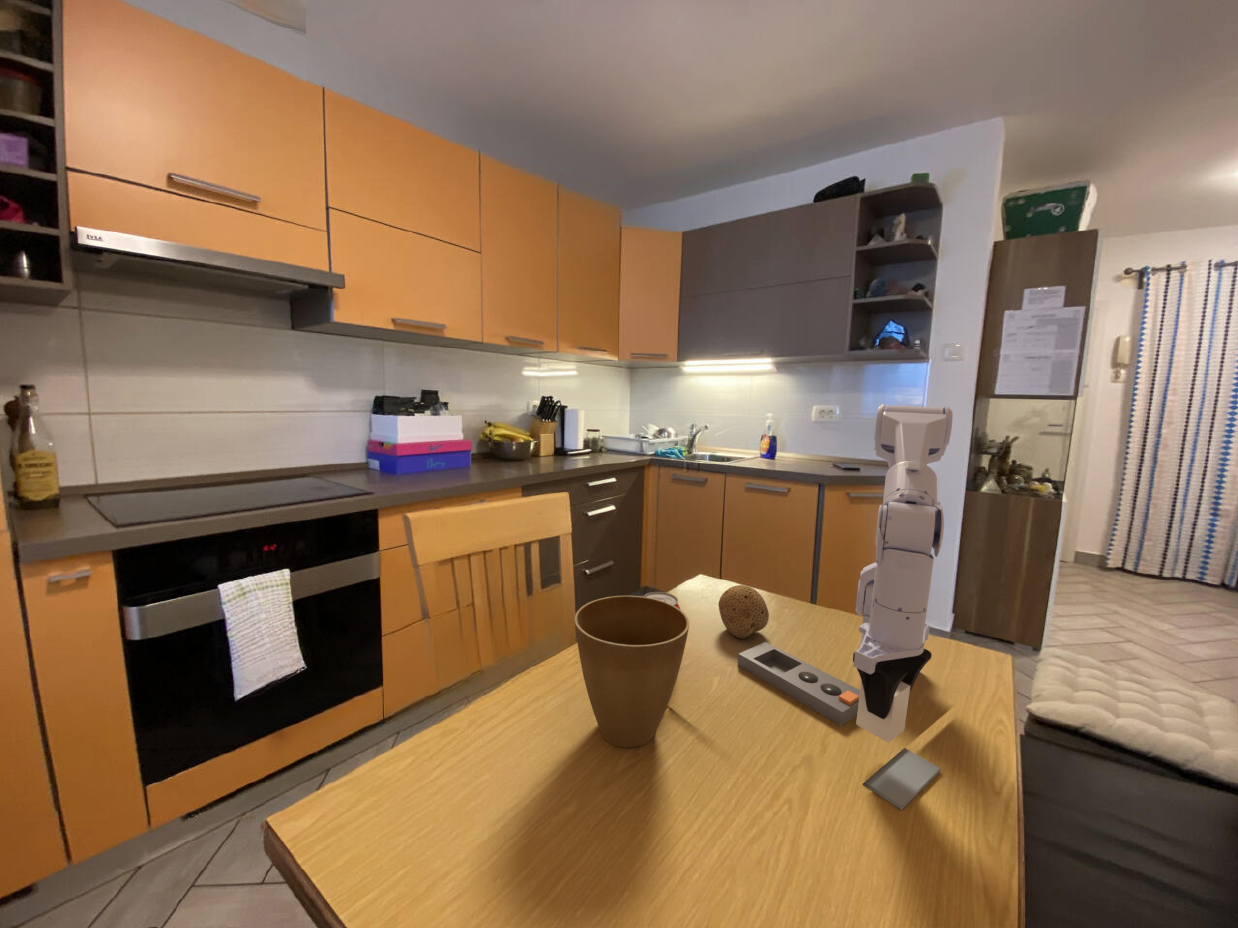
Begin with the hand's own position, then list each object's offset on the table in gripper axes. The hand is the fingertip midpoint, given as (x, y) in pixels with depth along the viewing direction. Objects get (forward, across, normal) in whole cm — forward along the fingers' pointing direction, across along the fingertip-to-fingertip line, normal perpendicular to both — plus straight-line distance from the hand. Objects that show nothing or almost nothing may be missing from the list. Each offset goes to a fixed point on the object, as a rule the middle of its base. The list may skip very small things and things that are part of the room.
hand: (886, 707), depth 62 cm
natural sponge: (+8, -11, -31) cm, 34 cm away
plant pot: (+8, +22, -23) cm, 33 cm away
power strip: (+8, -5, -15) cm, 18 cm away
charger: (+3, 0, 0) cm, 3 cm away
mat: (+8, 0, 0) cm, 8 cm away
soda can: (+8, +9, -32) cm, 34 cm away
